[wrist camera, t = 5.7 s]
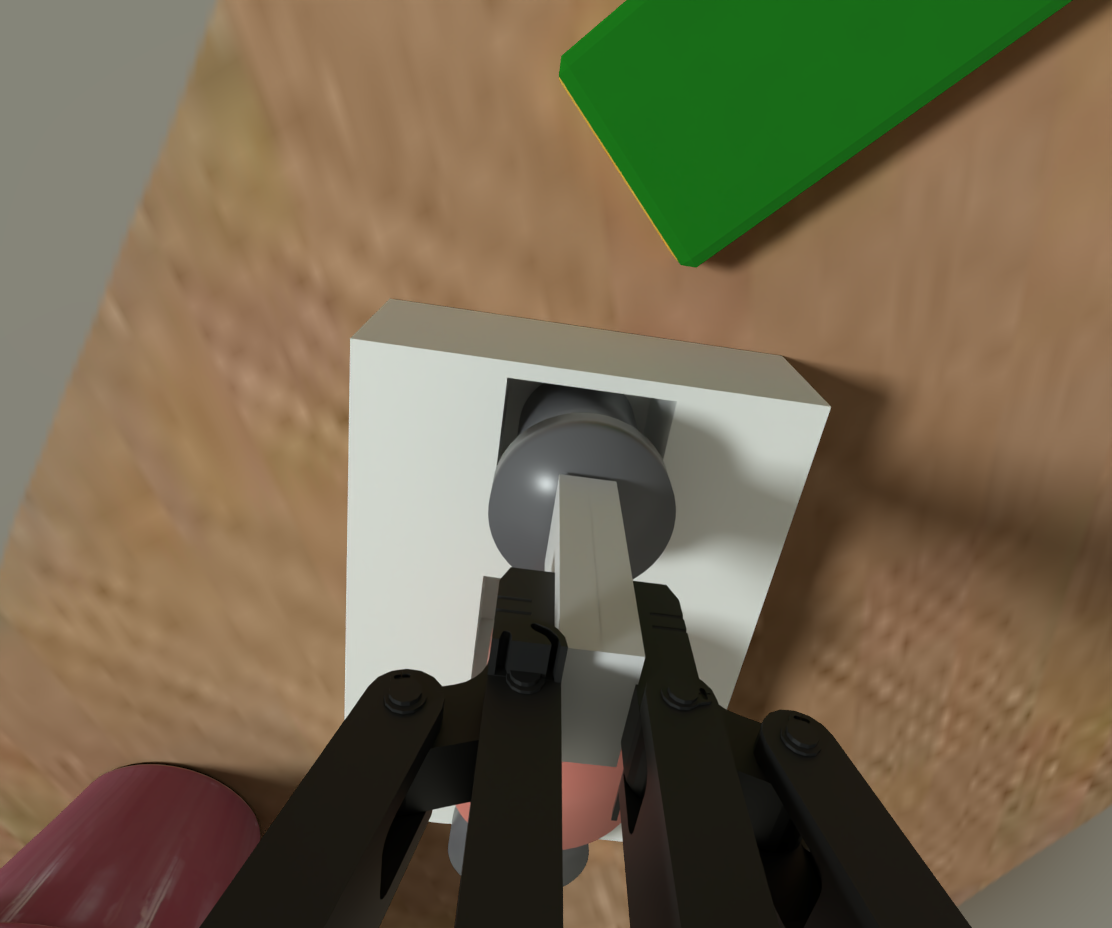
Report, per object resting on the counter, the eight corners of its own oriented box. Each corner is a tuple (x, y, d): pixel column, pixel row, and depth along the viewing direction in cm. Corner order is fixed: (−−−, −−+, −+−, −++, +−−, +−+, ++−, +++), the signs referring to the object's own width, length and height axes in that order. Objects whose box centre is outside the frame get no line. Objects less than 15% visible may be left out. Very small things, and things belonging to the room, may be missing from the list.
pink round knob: (631, 594, 23) (652, 735, 18) (605, 703, 25) (616, 859, 20) (483, 575, 23) (459, 714, 18) (469, 688, 25) (444, 841, 20)
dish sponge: (1079, -28, 20) (1143, -48, 18) (676, 261, 24) (687, 274, 22) (987, -300, 18) (1047, -360, 15) (552, 70, 21) (551, 63, 19)
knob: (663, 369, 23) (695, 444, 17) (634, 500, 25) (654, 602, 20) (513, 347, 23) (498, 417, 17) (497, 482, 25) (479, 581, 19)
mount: (781, 355, 25) (831, 406, 20) (663, 750, 33) (679, 847, 29) (389, 298, 24) (350, 338, 19) (373, 718, 33) (343, 813, 28)
